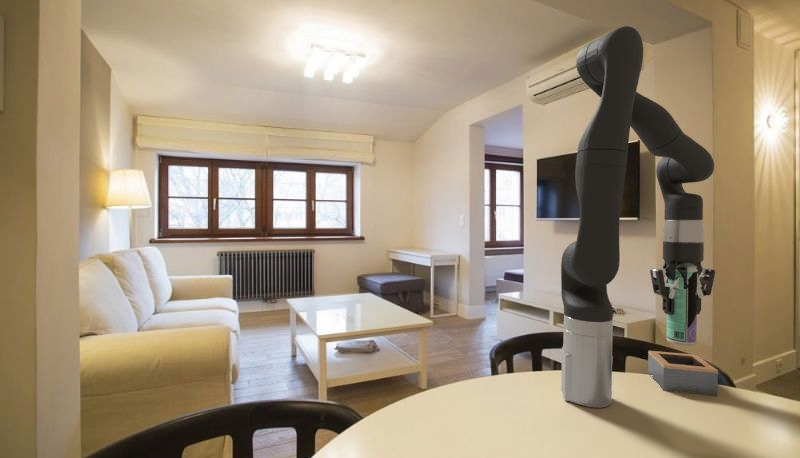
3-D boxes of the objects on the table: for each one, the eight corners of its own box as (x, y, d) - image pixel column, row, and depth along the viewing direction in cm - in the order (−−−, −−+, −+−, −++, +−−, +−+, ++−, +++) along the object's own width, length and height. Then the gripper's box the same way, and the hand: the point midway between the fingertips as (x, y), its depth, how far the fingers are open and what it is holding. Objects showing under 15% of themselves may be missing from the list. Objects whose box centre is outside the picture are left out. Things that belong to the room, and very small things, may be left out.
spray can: (701, 346, 84) (703, 256, 84) (673, 344, 85) (675, 255, 85) (688, 339, 89) (689, 254, 89) (662, 337, 90) (663, 253, 90)
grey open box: (663, 390, 84) (663, 365, 84) (647, 373, 94) (648, 350, 94) (717, 396, 81) (718, 370, 81) (695, 378, 91) (696, 354, 91)
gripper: (665, 240, 83) (663, 318, 83) (727, 240, 83) (726, 317, 84) (641, 239, 90) (640, 310, 90) (698, 239, 91) (697, 309, 91)
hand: (681, 313), depth 87 cm, fingers closed on spray can, 5 cm apart
